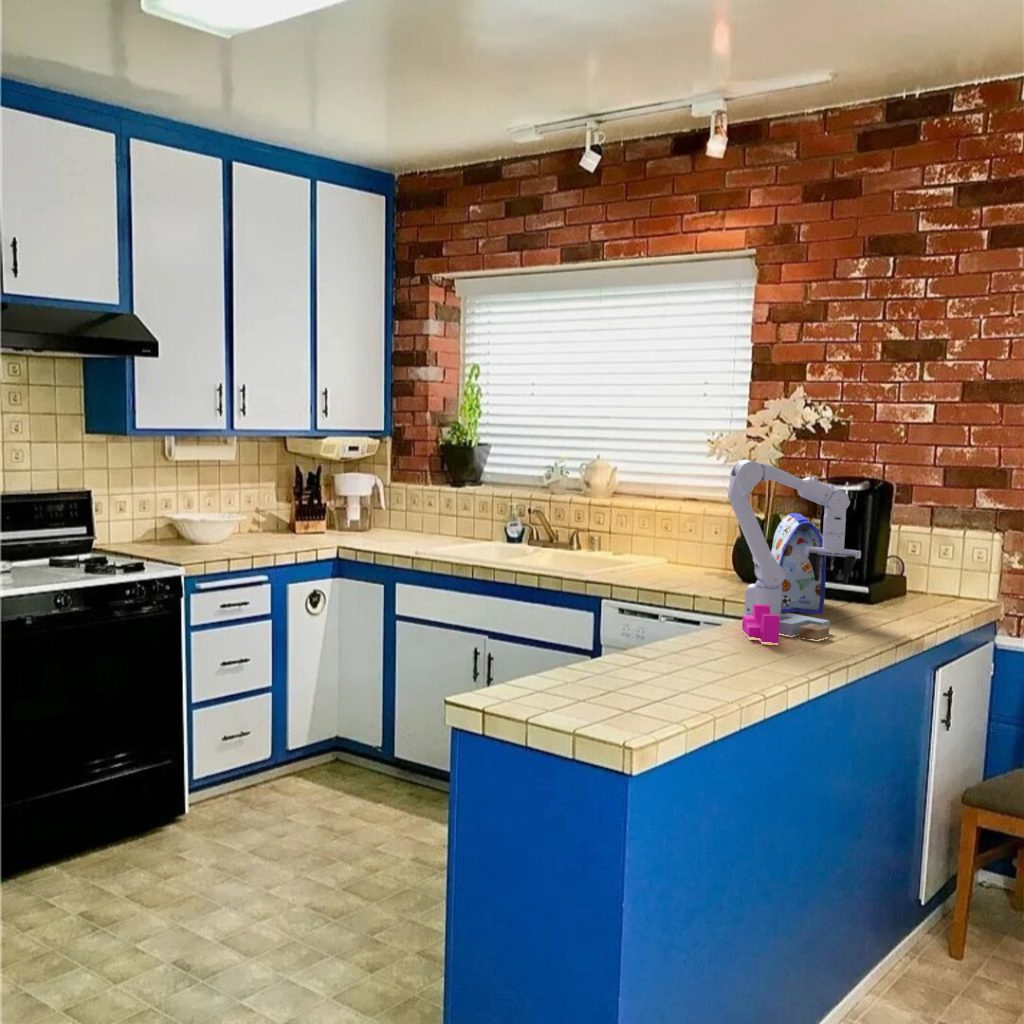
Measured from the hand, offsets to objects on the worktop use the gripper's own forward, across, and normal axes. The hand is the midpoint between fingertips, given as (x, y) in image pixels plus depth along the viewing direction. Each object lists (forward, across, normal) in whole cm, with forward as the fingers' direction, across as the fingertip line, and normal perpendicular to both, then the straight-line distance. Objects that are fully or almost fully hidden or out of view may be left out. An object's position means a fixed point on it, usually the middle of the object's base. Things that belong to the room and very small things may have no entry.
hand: (831, 582), depth 284 cm
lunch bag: (+11, -13, +14) cm, 22 cm away
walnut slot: (+10, -4, -25) cm, 28 cm away
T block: (+11, -3, -23) cm, 25 cm away
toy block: (+11, -9, -35) cm, 38 cm away
